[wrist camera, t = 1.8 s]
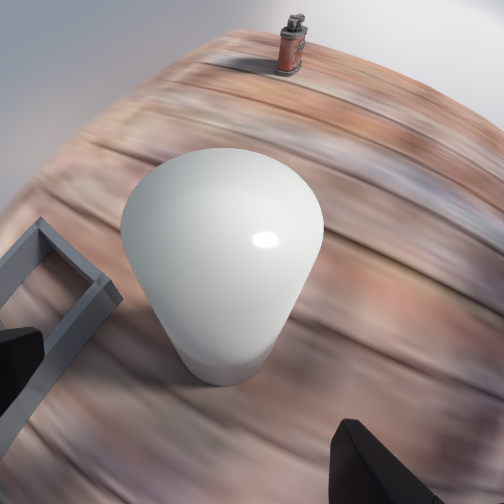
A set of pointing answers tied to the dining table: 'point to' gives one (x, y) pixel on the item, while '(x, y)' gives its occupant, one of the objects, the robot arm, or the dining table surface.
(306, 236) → the white smooth rounded part
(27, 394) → the dish rack
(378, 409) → the dining table surface
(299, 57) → the lighter
